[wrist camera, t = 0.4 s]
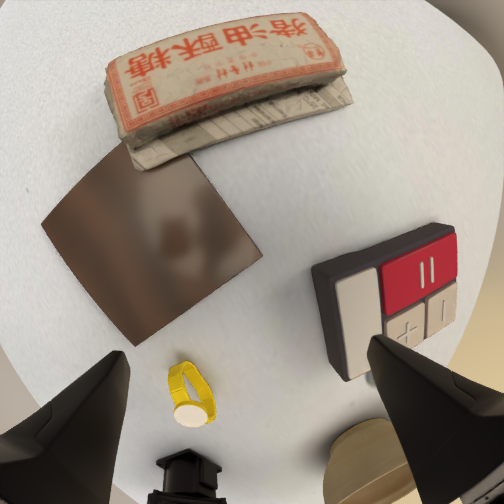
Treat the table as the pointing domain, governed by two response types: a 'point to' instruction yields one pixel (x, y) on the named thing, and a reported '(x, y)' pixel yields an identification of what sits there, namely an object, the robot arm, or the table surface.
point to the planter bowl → (367, 466)
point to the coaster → (148, 240)
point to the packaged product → (222, 84)
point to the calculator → (387, 294)
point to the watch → (186, 408)
